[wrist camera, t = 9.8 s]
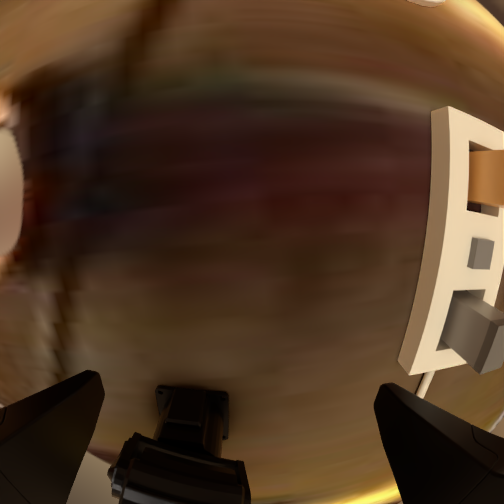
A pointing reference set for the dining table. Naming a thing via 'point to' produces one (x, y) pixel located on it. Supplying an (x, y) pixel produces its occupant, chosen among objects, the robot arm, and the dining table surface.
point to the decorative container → (428, 2)
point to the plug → (486, 178)
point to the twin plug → (475, 331)
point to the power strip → (452, 243)
